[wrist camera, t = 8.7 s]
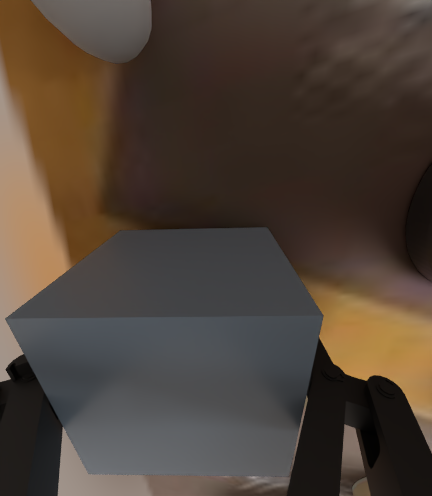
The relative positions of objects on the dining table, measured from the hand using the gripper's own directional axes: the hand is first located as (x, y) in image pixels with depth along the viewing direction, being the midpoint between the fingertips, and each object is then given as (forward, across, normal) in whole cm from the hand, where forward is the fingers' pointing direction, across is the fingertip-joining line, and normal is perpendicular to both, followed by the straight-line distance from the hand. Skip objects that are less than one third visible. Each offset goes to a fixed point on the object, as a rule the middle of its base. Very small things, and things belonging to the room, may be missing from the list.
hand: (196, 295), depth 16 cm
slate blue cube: (+1, 0, 0) cm, 1 cm away
